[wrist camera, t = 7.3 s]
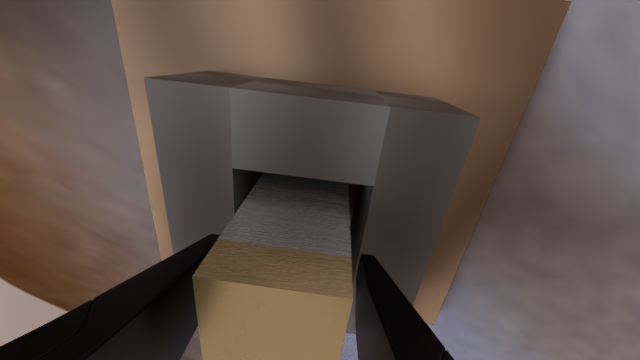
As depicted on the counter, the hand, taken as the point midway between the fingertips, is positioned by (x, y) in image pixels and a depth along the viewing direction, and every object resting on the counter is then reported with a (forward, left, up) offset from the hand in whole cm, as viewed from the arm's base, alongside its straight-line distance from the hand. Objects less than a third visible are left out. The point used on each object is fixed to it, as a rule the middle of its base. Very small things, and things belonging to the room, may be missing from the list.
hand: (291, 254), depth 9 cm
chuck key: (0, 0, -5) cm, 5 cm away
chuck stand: (0, 0, -7) cm, 7 cm away
